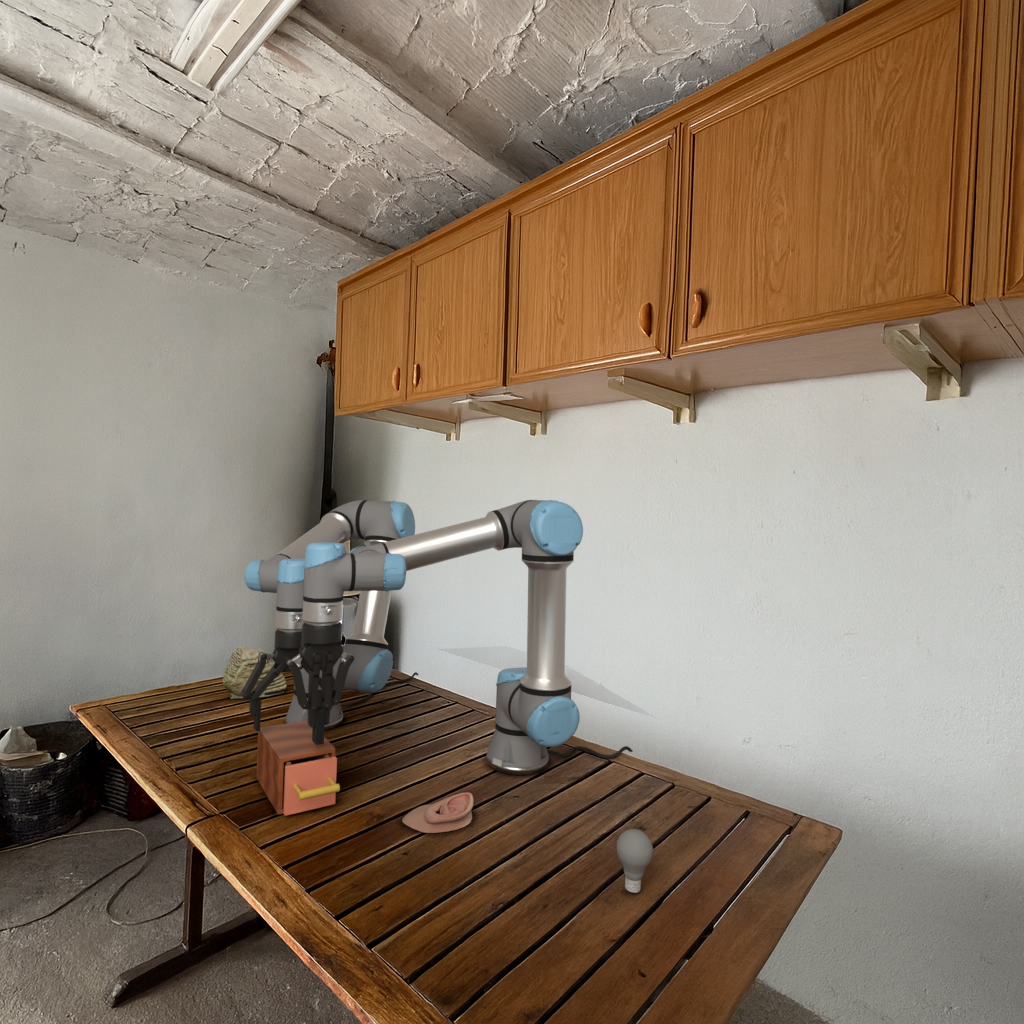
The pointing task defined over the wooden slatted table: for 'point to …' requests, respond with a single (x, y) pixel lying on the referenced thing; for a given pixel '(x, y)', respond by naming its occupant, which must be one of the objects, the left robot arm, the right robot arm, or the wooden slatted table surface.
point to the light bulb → (634, 857)
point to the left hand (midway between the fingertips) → (289, 724)
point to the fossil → (249, 673)
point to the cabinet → (284, 755)
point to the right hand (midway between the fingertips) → (317, 741)
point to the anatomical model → (442, 814)
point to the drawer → (309, 783)
